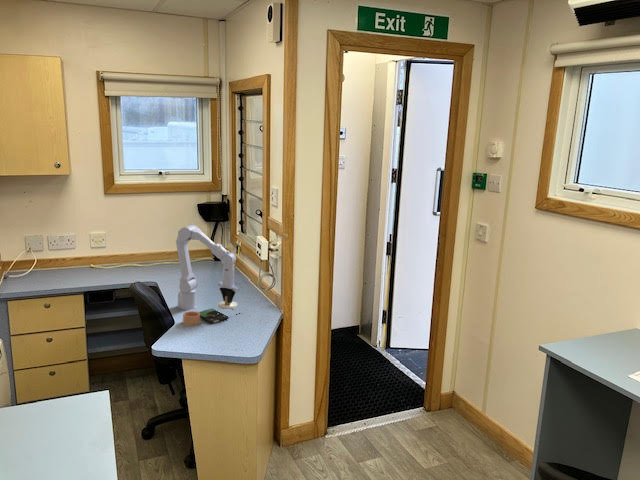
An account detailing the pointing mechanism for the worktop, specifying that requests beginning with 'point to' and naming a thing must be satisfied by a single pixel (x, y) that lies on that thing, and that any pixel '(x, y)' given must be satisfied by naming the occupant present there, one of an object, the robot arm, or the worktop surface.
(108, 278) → the worktop surface
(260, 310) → the worktop surface
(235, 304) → the lid
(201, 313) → the disk drive
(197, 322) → the bowl
